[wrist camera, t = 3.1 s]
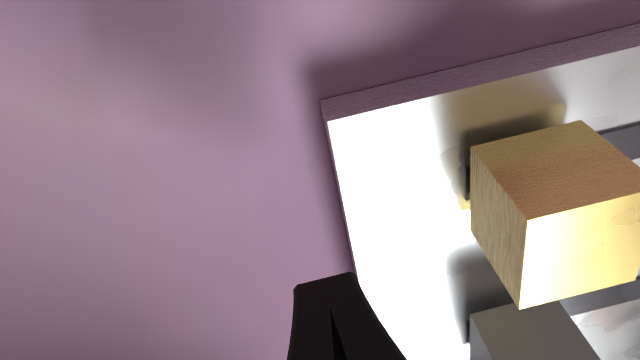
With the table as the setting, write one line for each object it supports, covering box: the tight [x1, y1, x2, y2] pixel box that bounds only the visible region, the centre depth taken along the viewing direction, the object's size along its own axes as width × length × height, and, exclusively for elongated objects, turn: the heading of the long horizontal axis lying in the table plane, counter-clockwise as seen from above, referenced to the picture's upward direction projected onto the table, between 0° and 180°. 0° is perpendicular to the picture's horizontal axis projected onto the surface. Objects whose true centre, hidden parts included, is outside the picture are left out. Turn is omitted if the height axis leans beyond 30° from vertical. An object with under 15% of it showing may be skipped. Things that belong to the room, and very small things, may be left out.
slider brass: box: [470, 120, 640, 310], centre depth 12 cm, size 3×3×3 cm
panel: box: [320, 23, 640, 360], centre depth 19 cm, size 18×22×3 cm
